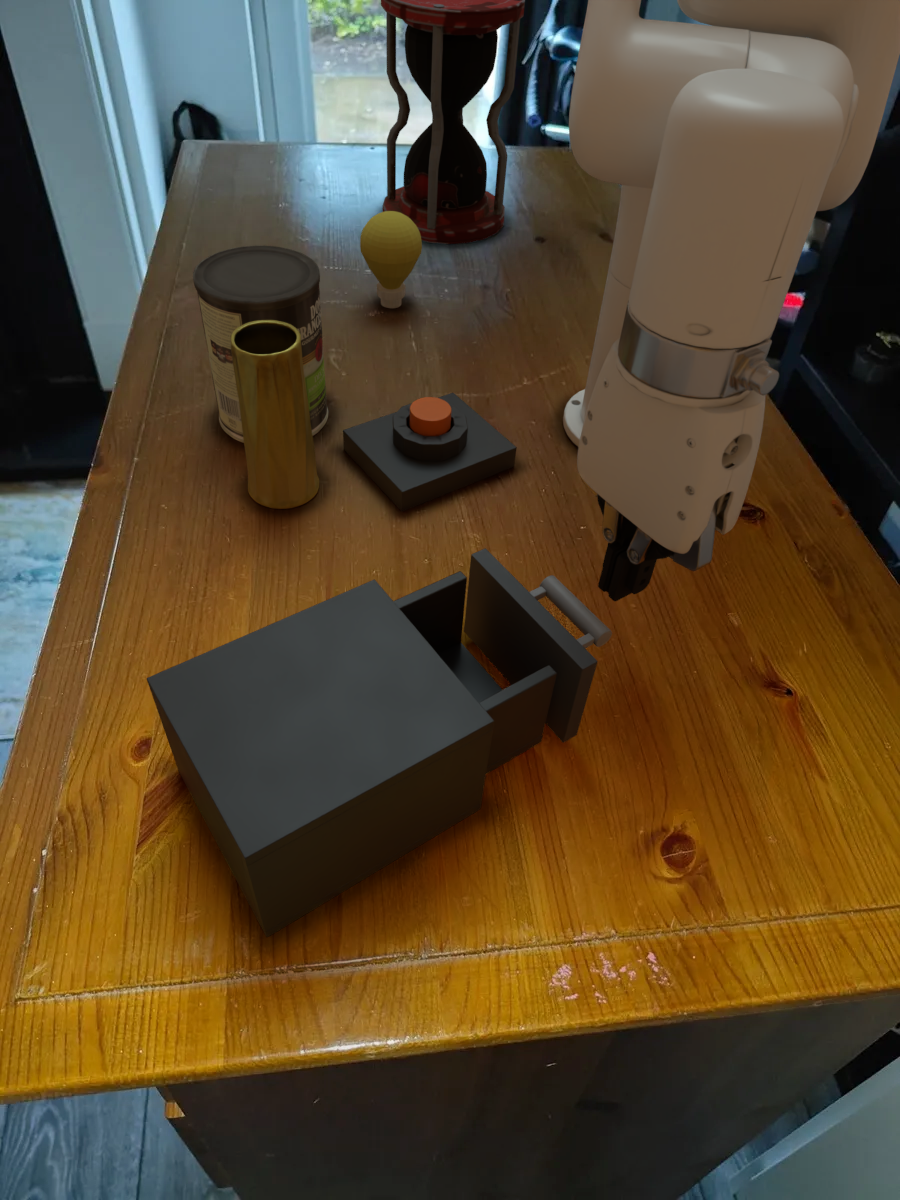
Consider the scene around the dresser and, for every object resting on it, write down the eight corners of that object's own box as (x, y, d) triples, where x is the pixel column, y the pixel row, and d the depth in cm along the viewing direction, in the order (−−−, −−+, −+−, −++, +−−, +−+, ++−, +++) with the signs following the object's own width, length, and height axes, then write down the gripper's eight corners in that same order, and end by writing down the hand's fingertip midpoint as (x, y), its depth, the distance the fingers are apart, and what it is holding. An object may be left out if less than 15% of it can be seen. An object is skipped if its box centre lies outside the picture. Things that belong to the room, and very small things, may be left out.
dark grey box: (376, 673, 59) (374, 578, 52) (480, 809, 53) (494, 720, 46) (178, 770, 53) (146, 677, 46) (267, 938, 47) (244, 858, 40)
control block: (452, 411, 82) (454, 375, 79) (514, 467, 76) (519, 430, 73) (343, 450, 77) (341, 412, 74) (402, 512, 71) (402, 474, 68)
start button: (435, 409, 76) (436, 392, 74) (458, 429, 74) (459, 412, 72) (401, 421, 74) (401, 404, 73) (424, 442, 72) (424, 425, 71)
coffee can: (342, 394, 83) (335, 253, 72) (309, 456, 76) (296, 310, 66) (242, 377, 84) (221, 236, 74) (200, 437, 77) (171, 291, 67)
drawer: (523, 602, 64) (536, 525, 58) (625, 706, 57) (650, 632, 52) (312, 705, 56) (304, 628, 51) (403, 837, 50) (405, 767, 44)
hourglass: (367, 235, 107) (362, -2, 89) (400, 187, 118) (401, -32, 100) (491, 253, 105) (512, 16, 87) (513, 203, 116) (536, -17, 98)
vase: (261, 518, 70) (238, 366, 59) (238, 475, 73) (212, 325, 63) (330, 498, 72) (319, 348, 62) (304, 458, 76) (290, 309, 65)
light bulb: (351, 309, 94) (347, 218, 87) (377, 284, 98) (375, 195, 91) (406, 323, 93) (407, 232, 85) (429, 297, 97) (433, 208, 90)
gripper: (851, 393, 42) (740, 634, 56) (644, 273, 50) (591, 508, 64) (751, 438, 39) (659, 683, 52) (547, 302, 47) (512, 543, 61)
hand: (622, 586), depth 58 cm, fingers closed
